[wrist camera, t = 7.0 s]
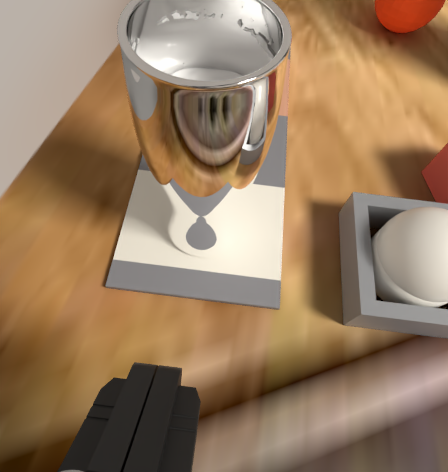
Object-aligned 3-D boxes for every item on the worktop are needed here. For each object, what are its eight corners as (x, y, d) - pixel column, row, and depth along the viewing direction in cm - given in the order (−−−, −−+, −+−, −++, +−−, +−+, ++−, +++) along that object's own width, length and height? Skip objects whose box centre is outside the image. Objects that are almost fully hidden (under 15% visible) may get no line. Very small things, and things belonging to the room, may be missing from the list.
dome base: (450, 227, 28) (476, 207, 25) (474, 341, 24) (508, 332, 21) (338, 212, 28) (352, 191, 25) (343, 325, 24) (361, 314, 21)
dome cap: (436, 239, 27) (498, 194, 22) (451, 320, 24) (527, 292, 19) (355, 229, 27) (395, 181, 22) (360, 309, 24) (408, 277, 19)
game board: (289, 50, 37) (290, 47, 36) (278, 309, 24) (279, 308, 24) (177, 36, 37) (177, 33, 36) (106, 287, 24) (105, 286, 24)
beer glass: (258, 195, 28) (310, -7, 14) (238, 274, 25) (279, 110, 11) (175, 174, 28) (150, -39, 15) (144, 249, 25) (77, 64, 12)
